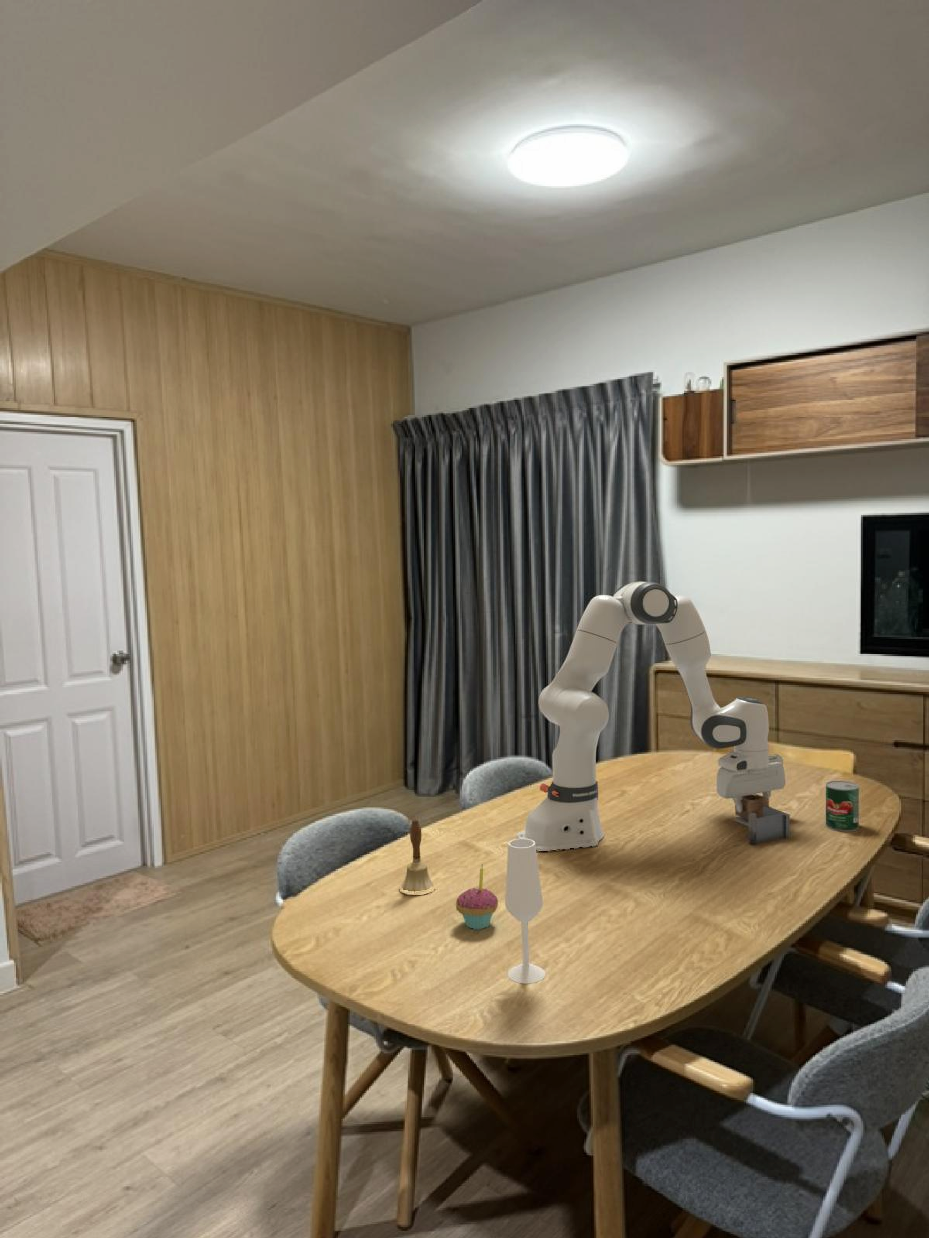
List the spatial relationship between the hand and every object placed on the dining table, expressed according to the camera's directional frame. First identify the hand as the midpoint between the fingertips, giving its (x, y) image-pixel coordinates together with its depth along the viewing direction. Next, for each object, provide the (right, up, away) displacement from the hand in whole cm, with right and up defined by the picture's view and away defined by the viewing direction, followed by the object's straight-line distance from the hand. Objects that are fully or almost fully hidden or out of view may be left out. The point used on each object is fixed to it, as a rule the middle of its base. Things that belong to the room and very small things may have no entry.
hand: (751, 809), depth 227 cm
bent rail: (-2, -4, -11) cm, 12 cm away
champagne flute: (-65, -13, -74) cm, 100 cm away
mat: (0, -3, 0) cm, 3 cm away
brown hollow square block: (0, -2, 0) cm, 2 cm away
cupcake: (-74, -12, -54) cm, 92 cm away
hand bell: (-87, -10, -35) cm, 94 cm away
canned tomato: (+21, -3, -6) cm, 22 cm away
